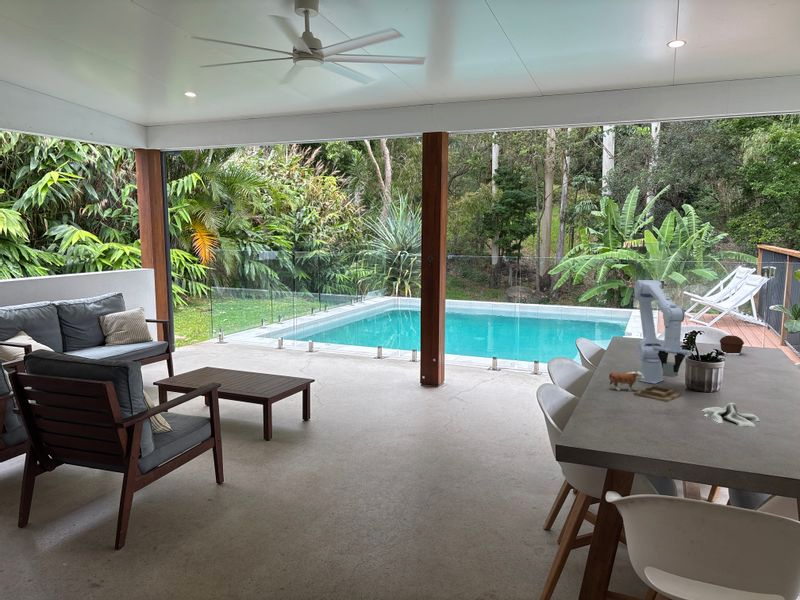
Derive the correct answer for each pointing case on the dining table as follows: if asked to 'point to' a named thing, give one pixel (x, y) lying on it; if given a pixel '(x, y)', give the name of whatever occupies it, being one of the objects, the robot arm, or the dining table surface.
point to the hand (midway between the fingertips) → (670, 371)
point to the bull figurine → (625, 379)
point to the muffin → (731, 344)
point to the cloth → (731, 415)
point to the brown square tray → (658, 393)
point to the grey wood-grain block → (669, 369)
